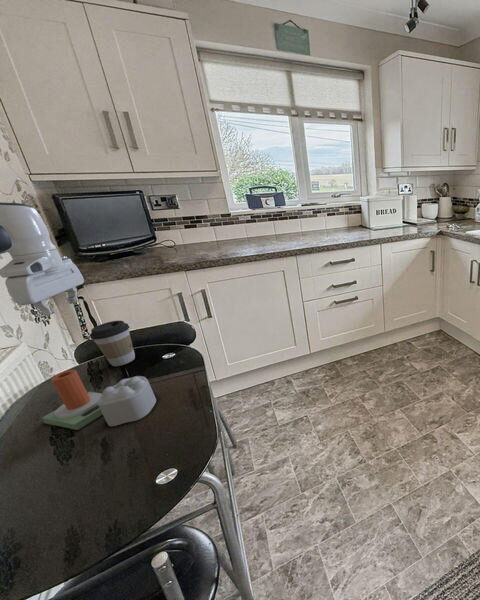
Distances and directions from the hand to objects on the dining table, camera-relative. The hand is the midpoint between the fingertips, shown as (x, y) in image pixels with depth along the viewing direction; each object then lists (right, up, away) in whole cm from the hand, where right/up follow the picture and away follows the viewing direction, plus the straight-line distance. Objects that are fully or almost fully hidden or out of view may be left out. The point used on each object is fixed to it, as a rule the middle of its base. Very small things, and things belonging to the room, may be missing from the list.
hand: (62, 308), depth 95 cm
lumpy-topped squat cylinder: (+21, -30, 0) cm, 36 cm away
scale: (+6, -30, +1) cm, 31 cm away
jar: (+5, -28, 0) cm, 28 cm away
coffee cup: (-6, -21, +29) cm, 36 cm away
